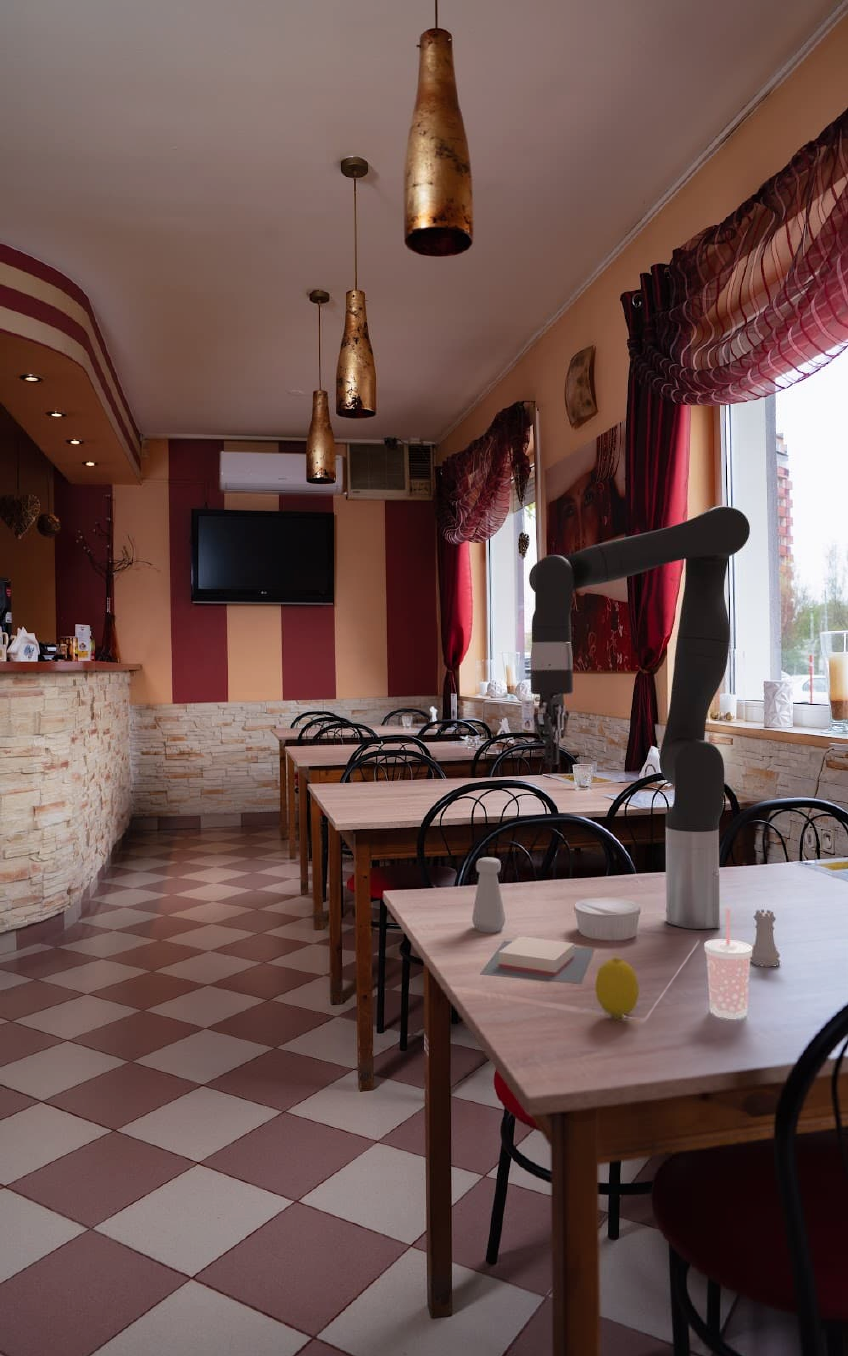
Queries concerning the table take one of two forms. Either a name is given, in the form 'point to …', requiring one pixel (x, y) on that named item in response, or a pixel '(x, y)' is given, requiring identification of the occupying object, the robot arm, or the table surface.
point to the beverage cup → (728, 975)
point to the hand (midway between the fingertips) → (552, 763)
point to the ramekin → (607, 918)
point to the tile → (536, 956)
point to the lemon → (617, 987)
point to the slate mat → (568, 975)
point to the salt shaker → (488, 897)
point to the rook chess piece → (765, 940)
